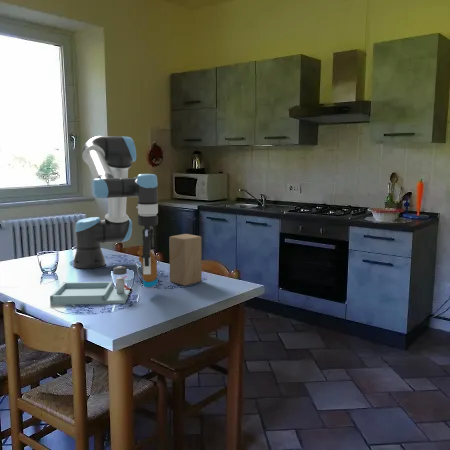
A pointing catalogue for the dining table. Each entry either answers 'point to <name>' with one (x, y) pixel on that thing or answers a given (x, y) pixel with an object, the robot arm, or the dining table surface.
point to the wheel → (119, 270)
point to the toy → (151, 278)
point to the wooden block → (185, 259)
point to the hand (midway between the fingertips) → (148, 269)
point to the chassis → (90, 293)
